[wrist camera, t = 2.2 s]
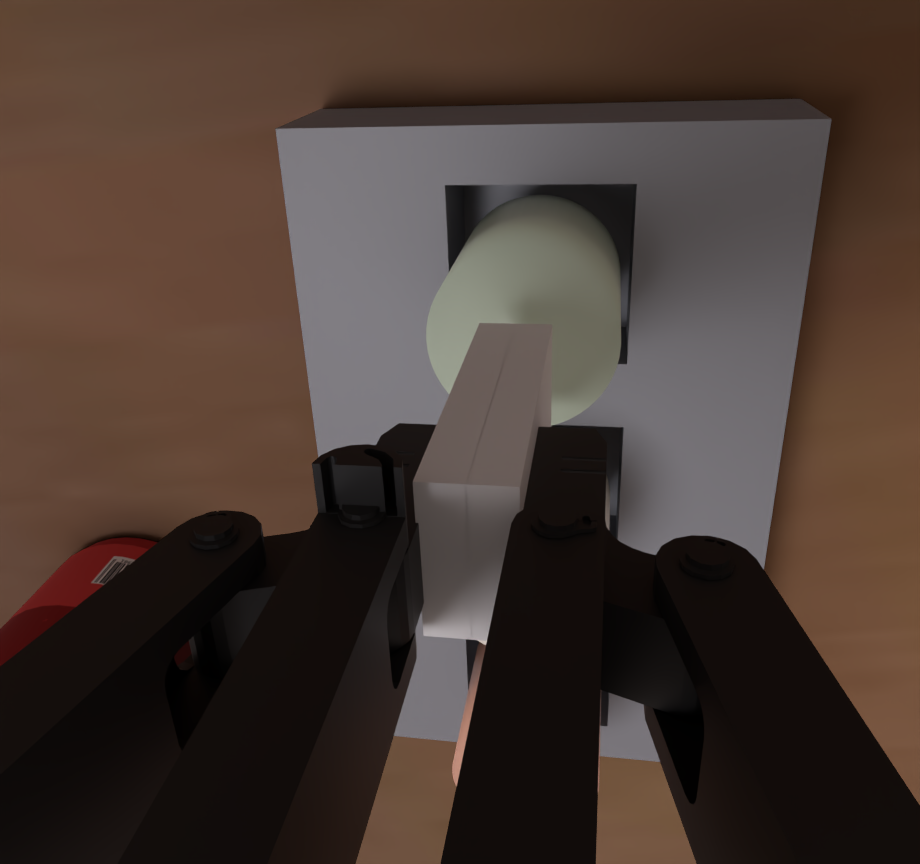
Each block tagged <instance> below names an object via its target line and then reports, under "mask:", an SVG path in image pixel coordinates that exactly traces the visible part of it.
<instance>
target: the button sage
mask: <svg viewBox="0 0 920 864" xmlns="http://www.w3.org/2000/svg"><path fill="white" fill-rule="evenodd" d="M479 323H510V324H552V397H551V426H552V425H556V424H559V423H562V422H564V421H567V420H569V419H571V418H573V417H575V416H577V415H578V414H580V413H582V412H583V411H584V410H586V409H587V408H588V407H590V406H591V405H592V404H593V403H594V402H595V401H596V400H597V399H598V398H599V397H600V396H601V394H602V393H603V392H604V391H605V389H606V388H607V386H608V384H609V383H610V381H611V379H612V377H613V375H614V373H615V370H616V368H617V364H618V361H619V357H620V349H621V282H620V261H619V255H618V252H617V249H616V246H615V243H614V241H613V239H612V237H611V235H610V234H609V232H608V230H607V229H606V227H605V226H604V225H603V224H602V223H601V221H600V220H599V219H598V218H597V217H596V216H595V215H593V214H592V213H591V212H590V211H588V210H587V209H586V208H584V207H583V206H581V205H579V204H577V203H575V202H573V201H571V200H568V199H565V198H562V197H557V196H552V195H528V196H523V197H519V198H516V199H513V200H510V201H507V202H505V203H503V204H501V205H499V206H498V207H496V208H495V209H493V210H492V211H491V212H489V213H488V214H487V215H486V216H485V217H484V218H483V219H482V220H481V221H480V222H479V223H478V224H477V226H476V227H475V228H474V230H473V232H472V233H471V235H470V236H469V238H468V240H467V242H466V243H465V245H464V247H463V249H462V250H461V252H460V254H459V255H458V257H457V259H456V261H455V262H454V264H453V266H452V268H451V269H450V271H449V273H448V275H447V276H446V278H445V280H444V282H443V283H442V285H441V287H440V288H439V290H438V292H437V294H436V296H435V298H434V300H433V302H432V305H431V308H430V311H429V315H428V320H427V327H426V342H427V350H428V354H429V358H430V362H431V365H432V367H433V369H434V372H435V374H436V376H437V378H438V379H439V381H440V383H441V384H442V386H443V387H444V388H445V390H446V391H447V392H448V394H450V392H451V389H452V387H453V385H454V382H455V380H456V377H457V375H458V373H459V370H460V368H461V366H462V363H463V361H464V358H465V356H466V354H467V351H468V349H469V347H470V344H471V342H472V339H473V337H474V335H475V332H476V330H477V328H478V325H479Z"/></svg>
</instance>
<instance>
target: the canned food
mask: <svg viewBox="0 0 920 864" xmlns="http://www.w3.org/2000/svg"><path fill="white" fill-rule="evenodd" d="M156 543H158V542H154V541H150V540H146V539H140V538H129V537H125V538H112V539H108V540H104V541H101V542H97V543H95V544H93V545H91V546H89V547H87V548H85V549H83V550H81V551H80V552H78V553H76V554H74V555H72V556H71V557H70V558H69V559H68V560H67V561H66V562H64V563H63V564H62V565H61V566H60V567H59V568H58V570H57V571H56V572H55V573H54V574H53V575H52V576H51V577H50V578H49V579H48V580H47V581H46V582H45V583H44V584H43V585H42V586H41V587H40V588H39V589H38V590H37V591H36V592H35V594H34V595H33V596H32V597H31V598H30V599H29V600H28V601H27V602H26V603H25V604H24V605H23V606H22V607H21V608H20V609H19V610H18V611H17V612H16V613H15V614H14V615H13V616H12V617H11V619H10V620H9V621H8V622H7V623H6V624H5V625H4V626H3V627H2V628H1V629H0V666H1V665H3V664H4V663H5V662H6V661H8V660H9V659H10V658H11V657H13V656H14V655H15V654H17V653H18V652H19V651H20V650H22V649H23V648H24V647H25V646H27V645H28V644H29V643H31V642H32V641H33V640H34V639H36V638H37V637H38V636H39V635H41V634H42V633H43V632H45V631H46V630H47V629H48V628H50V627H51V626H52V625H53V624H55V623H56V622H57V621H59V620H60V619H61V618H62V617H64V616H65V615H66V614H67V613H69V612H70V611H71V610H72V609H74V608H75V607H76V606H78V605H79V604H80V603H81V602H83V601H84V600H85V599H86V598H88V597H89V596H90V595H92V594H93V593H94V592H95V591H97V590H98V589H99V588H100V587H102V586H103V585H104V584H106V583H107V582H108V581H109V580H111V579H112V578H113V577H114V576H116V575H117V574H118V573H120V572H121V571H122V570H123V569H125V568H126V567H127V566H128V565H130V564H131V563H132V562H134V561H135V560H136V559H137V558H139V557H140V556H141V555H142V554H144V553H145V552H146V551H148V550H149V549H150V548H151V547H153V546H154V545H155V544H156ZM191 654H192V653H191V649H190V645H189V641H188V642H187V643H186V644H185V645H184V646H183V647H181V648H180V649H179V650H178V652H177V653H176V655H175V656H174V658H175V662H176V664H177V665H179V664H181V663H182V662H184V661H185V660H186V659H187V658H188V657H189V656H190V655H191Z"/></svg>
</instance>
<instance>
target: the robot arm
mask: <svg viewBox="0 0 920 864" xmlns="http://www.w3.org/2000/svg"><path fill="white" fill-rule="evenodd" d="M551 397H552V324H510V323H479V325H478V328H477V330H476V332H475V335H474V337H473V339H472V342H471V344H470V347H469V349H468V351H467V354H466V356H465V358H464V361H463V363H462V366H461V368H460V370H459V373H458V375H457V377H456V380H455V382H454V385H453V387H452V389H451V392H450V394H449V396H448V399H447V401H446V404H445V406H444V408H443V411H442V413H441V415H440V418H439V420H438V423H437V425H434V424H408V423H399V424H397V425H396V426H394V427H393V428H391V429H390V430H388V431H387V432H385V433H384V434H383V435H381V437H380V438H379V440H378V442H377V444H376V445H370V444H362V445H349V446H345V447H341V448H336V449H333V450H331V451H329V452H327V453H325V454H322V455H320V456H319V457H318V458H317V459H316V460H315V461H314V462H313V463H312V468H313V476H314V483H315V491H316V499H317V506H318V514H317V516H316V518H315V519H314V521H313V523H312V525H311V526H310V528H309V529H308V530H305V531H300V532H295V533H289V534H281V535H274V536H266V537H263V532H262V526H261V523H260V522H259V521H258V520H257V519H256V518H255V517H254V516H252V515H249V514H246V513H244V512H237V511H219V512H217V511H214V512H209V513H206V514H204V515H201V516H198V517H195V518H192V519H190V520H188V521H187V522H185V523H183V524H182V525H180V526H178V527H177V528H176V529H174V530H173V531H172V532H170V533H169V534H168V535H167V536H165V537H164V538H163V539H162V540H160V541H159V542H158V543H156V544H155V545H154V546H153V547H151V548H150V549H149V550H148V551H146V552H145V553H144V554H142V555H141V556H140V557H139V558H137V559H136V560H135V561H134V562H132V563H131V564H130V565H128V566H127V567H126V568H125V569H123V570H122V571H121V572H120V573H118V574H117V575H116V576H114V577H113V578H112V579H111V580H109V581H108V582H107V583H106V584H104V585H103V586H102V587H100V588H99V589H98V590H97V591H95V592H94V593H93V594H92V595H90V596H89V597H88V598H86V599H85V600H84V601H83V602H81V603H80V604H79V605H78V606H76V607H75V608H74V609H72V610H71V611H70V612H69V613H67V614H66V615H65V616H64V617H62V618H61V619H60V620H59V621H57V622H56V623H55V624H53V625H52V626H51V627H50V628H48V629H47V630H46V631H45V632H43V633H42V634H41V635H39V636H38V637H37V638H36V639H34V640H33V641H32V642H31V643H29V644H28V645H27V646H25V647H24V648H23V649H22V650H20V651H19V652H18V653H17V654H15V655H14V656H13V657H11V658H10V659H9V660H8V661H6V662H5V663H4V664H3V665H1V666H0V864H355V863H356V860H357V857H358V853H359V850H360V847H361V843H362V840H363V837H364V833H365V830H366V827H367V823H368V820H369V817H370V813H371V810H372V806H373V803H374V800H375V796H376V793H377V790H378V786H379V783H380V780H381V776H382V773H383V770H384V766H385V763H386V760H387V756H388V753H389V750H390V746H391V743H392V740H393V736H394V733H395V730H396V726H397V723H398V719H399V716H400V713H401V709H402V706H403V703H404V699H405V696H406V693H407V689H408V686H409V683H410V679H411V676H412V673H413V669H414V666H415V663H416V659H417V644H416V631H415V629H416V626H417V623H418V620H419V617H420V614H421V611H422V621H423V635H424V636H431V637H444V638H456V639H469V640H482V641H487V643H486V647H485V652H484V657H483V662H482V667H481V672H480V676H479V681H478V686H477V691H476V696H475V701H474V705H473V710H472V715H471V720H470V725H469V729H468V734H467V739H466V744H465V749H464V754H463V758H462V763H461V768H460V773H459V778H458V782H457V787H456V792H455V797H454V802H453V807H452V811H451V816H450V821H449V826H448V831H447V835H446V840H445V845H444V850H443V855H442V860H441V864H596V834H597V800H598V766H599V732H600V699H601V690H603V691H605V692H608V693H611V694H614V695H617V696H620V697H623V698H626V699H629V700H632V701H635V702H637V703H640V704H643V705H644V714H645V721H646V723H647V726H648V729H649V732H650V735H651V737H652V740H653V743H654V746H655V749H656V751H657V754H658V757H659V760H660V762H661V765H662V768H663V771H664V774H665V776H666V779H667V782H668V785H669V788H670V790H671V793H672V796H673V799H674V802H675V804H676V807H677V810H678V813H679V815H680V818H681V821H682V824H683V827H684V829H685V832H686V835H687V838H688V841H689V843H690V846H691V849H692V852H693V855H694V857H695V860H696V863H697V864H920V805H919V804H918V802H917V801H916V799H915V798H914V796H913V795H912V793H911V792H910V790H909V789H908V787H907V785H906V784H905V782H904V781H903V779H902V778H901V776H900V775H899V773H898V772H897V770H896V769H895V767H894V766H893V764H892V763H891V761H890V760H889V758H888V757H887V755H886V754H885V752H884V751H883V749H882V748H881V746H880V745H879V743H878V742H877V740H876V739H875V737H874V736H873V734H872V733H871V731H870V730H869V728H868V727H867V725H866V724H865V722H864V721H863V719H862V718H861V716H860V714H859V713H858V711H857V710H856V708H855V707H854V705H853V704H852V702H851V701H850V699H849V698H848V696H847V695H846V693H845V692H844V690H843V689H842V687H841V686H840V684H839V683H838V681H837V680H836V678H835V677H834V675H833V674H832V672H831V671H830V669H829V668H828V666H827V665H826V663H825V662H824V660H823V659H822V657H821V656H820V654H819V653H818V651H817V650H816V648H815V646H814V645H813V643H812V642H811V640H810V639H809V637H808V636H807V634H806V633H805V631H804V630H803V628H802V627H801V625H800V624H799V622H798V621H797V619H796V618H795V616H794V615H793V613H792V612H791V610H790V609H789V607H788V606H787V604H786V603H785V601H784V600H783V598H782V597H781V595H780V594H779V592H778V591H777V589H776V588H775V586H774V585H773V583H772V582H771V580H770V578H769V577H768V575H767V574H766V572H765V571H764V569H763V568H762V566H761V565H760V563H759V562H758V560H757V559H756V558H755V557H754V556H753V555H752V554H751V553H750V552H749V551H748V550H747V549H745V548H743V547H741V546H739V545H737V544H735V543H733V542H731V541H729V540H725V539H722V538H717V537H713V536H698V535H690V536H685V537H680V538H675V539H673V540H671V541H669V542H667V543H665V544H664V545H662V546H661V547H660V549H659V551H658V552H657V554H656V555H653V554H649V553H645V552H642V551H639V550H637V549H634V548H631V547H629V546H627V545H625V544H624V543H622V542H620V541H619V540H618V539H616V538H615V537H614V536H613V535H612V534H611V533H610V531H609V530H608V528H607V526H606V521H605V505H606V466H607V442H606V441H605V440H604V439H603V437H602V436H601V435H600V434H599V432H598V431H597V430H596V429H589V428H564V427H551ZM188 641H189V645H190V649H191V653H192V654H191V655H190V656H189V657H188V658H187V659H186V660H185V661H184V662H182V663H181V664H179V665H177V664H176V662H175V658H174V656H175V655H176V653H177V652H178V650H179V649H180V648H181V647H183V646H184V645H185V644H186V643H187V642H188Z"/></svg>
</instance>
